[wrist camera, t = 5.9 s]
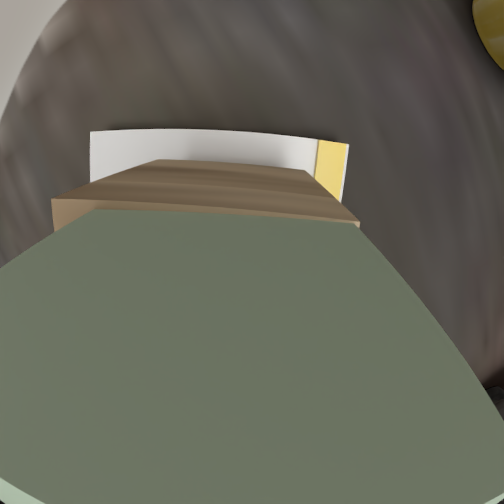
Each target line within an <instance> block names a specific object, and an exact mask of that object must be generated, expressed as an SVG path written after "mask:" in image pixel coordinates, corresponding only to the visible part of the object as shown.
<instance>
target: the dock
mask: <svg viewBox="0 0 504 504" xmlns="http://www.w3.org/2000/svg"><path fill="white" fill-rule="evenodd" d="M348 148H349V144H343V143H337V142H331V141H324V140H317V139H310V138H302V137H294V136H285V135H276V134H266V133H254V132H241V131H225V130H201V129H135V130H112V131H97V132H90V183H91V182H93V181H96V180H99V179H101V178H104V177H107V176H109V175H112V174H115V173H118V172H121V171H124V170H126V169H129V168H132V167H135V166H138V165H141V164H144V163H148V162H151V161H154V160H157V159H170V160H195V161H213V162H228V163H241V164H253V165H264V166H274V167H283V168H292V169H300V170H305V171H306V172H308V173H309V174H310V175H311V176H312V177H313V178H314V179H315V180H317V181H318V182H319V183H320V184H321V185H322V186H323V187H324V188H325V189H326V190H327V191H329V192H330V193H331V194H332V195H333V196H334V197H335V198H336V199H337V200H338V201H339V202H340V203H341V199H342V192H343V186H344V179H345V172H346V164H347V156H348Z"/></svg>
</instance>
